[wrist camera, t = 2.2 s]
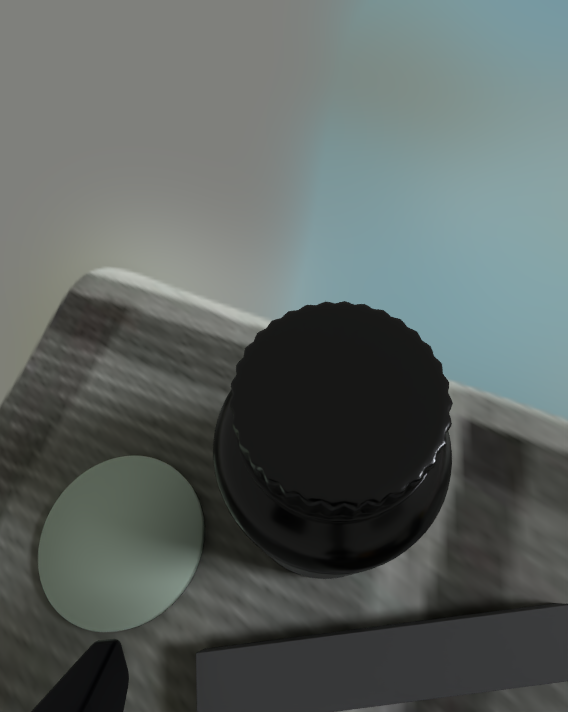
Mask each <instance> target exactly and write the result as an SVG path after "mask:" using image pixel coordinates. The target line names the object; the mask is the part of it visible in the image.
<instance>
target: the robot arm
mask: <svg viewBox="0 0 568 712" xmlns="http://www.w3.org/2000/svg"><path fill="white" fill-rule="evenodd" d="M128 682H129V674H128V668H127V665H126V661H125V657H124V653H123V649H122V646H121V643H120V641H119V640H117V639H110V640H100V641H97V642H95V643H94V644H92V645H91V646H90V647H89V649H88V650H87V651H86V652H85V653H84V654H83V655H82V656H81V657H80V659H79V660H78V661H77V662H76V663H75V664H74V665H73V666H72V667H71V668H70V670H69V671H68V672H67V673H66V674H65V675H64V676H63V677H62V678H61V679H60V681H59V682H58V683H57V684H56V685H55V686H54V687H53V688H52V689H51V690H50V692H49V693H48V694H47V695H46V696H45V697H44V698H43V699H42V700H41V701H40V703H39V704H38V705H37V706H36V707H35V708H34V709H33V710H32V711H31V712H123V710H124V705H125V700H126V694H127V689H128Z"/></svg>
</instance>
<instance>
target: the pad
mask: <svg viewBox="0 0 568 712" xmlns="http://www.w3.org/2000/svg"><path fill="white" fill-rule="evenodd" d="M204 535H205V525H204V516H203V511H202V507H201V504H200V501H199V499H198V496H197V495H196V493H195V491H194V489H193V488H192V486H191V485H190V483H189V482H188V481H187V480H186V479H185V478H184V477H183V476H182V475H181V474H180V473H179V472H178V471H177V470H175V469H174V468H173V467H172V466H170V465H168V464H166V463H165V462H163V461H160V460H157V459H155V458H151V457H146V456H136V455H134V456H122V457H117V458H113V459H110V460H107V461H104V462H102V463H100V464H97V465H95V466H94V467H92V468H90V469H88V470H87V471H85V472H84V473H83V474H81V475H80V476H79V477H77V478H76V479H75V480H74V481H73V482H72V483H71V484H70V485H69V486H68V487H67V488H66V489H65V490H64V491H63V493H62V494H61V495H60V497H59V498H58V499H57V501H56V502H55V504H54V506H53V507H52V509H51V511H50V513H49V515H48V517H47V519H46V522H45V524H44V527H43V530H42V533H41V538H40V543H39V550H38V569H39V575H40V581H41V584H42V587H43V590H44V592H45V594H46V596H47V598H48V600H49V602H50V603H51V605H52V606H53V607H54V609H55V610H56V611H57V612H58V613H59V614H60V615H61V616H62V617H63V618H65V619H66V620H67V621H69V622H70V623H72V624H74V625H76V626H78V627H80V628H83V629H86V630H90V631H96V632H116V631H121V630H126V629H131V628H134V627H137V626H140V625H143V624H145V623H147V622H149V621H151V620H153V619H154V618H156V617H157V616H159V615H160V614H162V613H163V612H164V611H166V610H167V609H168V608H169V607H170V606H171V605H173V603H174V602H175V601H176V600H177V599H178V598H179V597H180V596H181V595H182V593H183V592H184V590H185V589H186V588H187V586H188V585H189V583H190V581H191V579H192V578H193V576H194V574H195V572H196V569H197V567H198V564H199V562H200V558H201V555H202V551H203V545H204Z"/></svg>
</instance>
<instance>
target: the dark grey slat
mask: <svg viewBox="0 0 568 712" xmlns="http://www.w3.org/2000/svg"><path fill="white" fill-rule="evenodd" d="M196 681H197V712H335V711H343V710H351V709H358V708H366V707H374V706H381V705H389V704H397V703H404V702H412V701H419V700H427V699H435V698H442V697H450V696H458V695H465V694H473V693H480V692H488V691H496V690H503V689H511V688H519V687H526V686H534V685H542V684H549V683H557V682H564V681H568V604H559V603H555V604H547V605H539V606H532V607H524V608H516V609H508V610H501V611H493V612H485V613H478V614H470V615H462V616H455V617H447V618H439V619H431V620H424V621H416V622H408V623H401V624H393V625H385V626H378V627H370V628H362V629H354V630H347V631H339V632H331V633H324V634H316V635H308V636H301V637H293V638H285V639H277V640H270V641H262V642H254V643H247V644H239V645H231V646H224V647H216V648H208V649H203V650H201V651H200V652H198V653H196Z"/></svg>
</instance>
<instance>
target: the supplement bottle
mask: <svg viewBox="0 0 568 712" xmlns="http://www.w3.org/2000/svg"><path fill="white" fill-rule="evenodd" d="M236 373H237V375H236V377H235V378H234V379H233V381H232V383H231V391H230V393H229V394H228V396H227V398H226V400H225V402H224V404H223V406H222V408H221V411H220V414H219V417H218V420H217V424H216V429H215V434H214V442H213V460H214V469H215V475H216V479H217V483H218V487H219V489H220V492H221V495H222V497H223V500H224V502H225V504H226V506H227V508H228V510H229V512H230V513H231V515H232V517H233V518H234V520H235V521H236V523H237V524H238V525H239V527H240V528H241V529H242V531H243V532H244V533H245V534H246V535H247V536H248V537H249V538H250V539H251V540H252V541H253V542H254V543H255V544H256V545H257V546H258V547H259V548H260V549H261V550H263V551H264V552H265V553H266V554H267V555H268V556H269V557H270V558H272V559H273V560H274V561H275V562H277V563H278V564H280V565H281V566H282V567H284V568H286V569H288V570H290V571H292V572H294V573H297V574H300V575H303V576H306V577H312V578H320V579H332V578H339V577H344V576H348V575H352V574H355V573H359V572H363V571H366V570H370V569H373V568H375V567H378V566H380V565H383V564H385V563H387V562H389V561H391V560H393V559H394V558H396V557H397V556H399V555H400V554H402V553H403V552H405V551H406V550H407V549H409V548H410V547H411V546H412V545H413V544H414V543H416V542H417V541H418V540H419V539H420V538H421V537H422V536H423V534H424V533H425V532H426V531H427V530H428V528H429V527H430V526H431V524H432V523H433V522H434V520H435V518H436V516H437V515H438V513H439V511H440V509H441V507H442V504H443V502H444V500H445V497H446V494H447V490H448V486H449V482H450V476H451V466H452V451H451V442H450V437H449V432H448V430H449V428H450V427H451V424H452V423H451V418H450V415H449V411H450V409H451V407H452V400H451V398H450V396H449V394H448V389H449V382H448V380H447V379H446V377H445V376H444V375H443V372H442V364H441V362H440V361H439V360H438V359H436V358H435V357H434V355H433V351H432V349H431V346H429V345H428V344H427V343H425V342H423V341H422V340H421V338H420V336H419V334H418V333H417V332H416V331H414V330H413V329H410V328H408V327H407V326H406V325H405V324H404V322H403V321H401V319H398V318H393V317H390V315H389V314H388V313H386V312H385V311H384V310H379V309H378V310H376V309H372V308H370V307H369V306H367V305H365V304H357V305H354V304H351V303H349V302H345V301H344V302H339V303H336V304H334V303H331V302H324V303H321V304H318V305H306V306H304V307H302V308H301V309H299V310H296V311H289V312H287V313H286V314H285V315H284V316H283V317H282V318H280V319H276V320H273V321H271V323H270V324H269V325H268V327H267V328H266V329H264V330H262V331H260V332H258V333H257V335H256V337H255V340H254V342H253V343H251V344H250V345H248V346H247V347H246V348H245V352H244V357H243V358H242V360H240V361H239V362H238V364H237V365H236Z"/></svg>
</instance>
